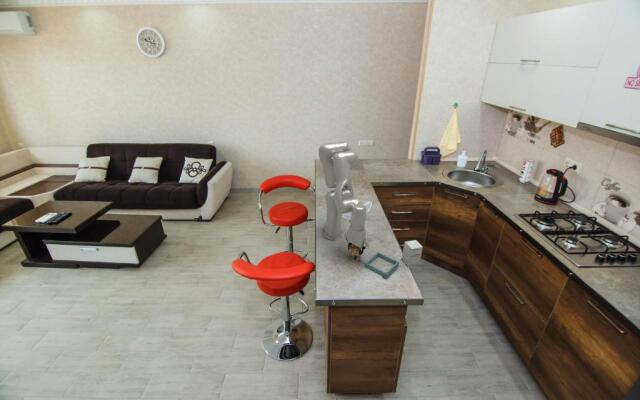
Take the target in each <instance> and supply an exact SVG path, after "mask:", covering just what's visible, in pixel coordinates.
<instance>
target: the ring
mask: <svg viewBox="0 0 640 400" xmlns="http://www.w3.org/2000/svg"><path fill="white" fill-rule="evenodd" d="M359 250H360V247H358V246H356V245H354V244H351V245H350V246H349V250H348V253H349V255H353V256H359Z"/></svg>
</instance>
